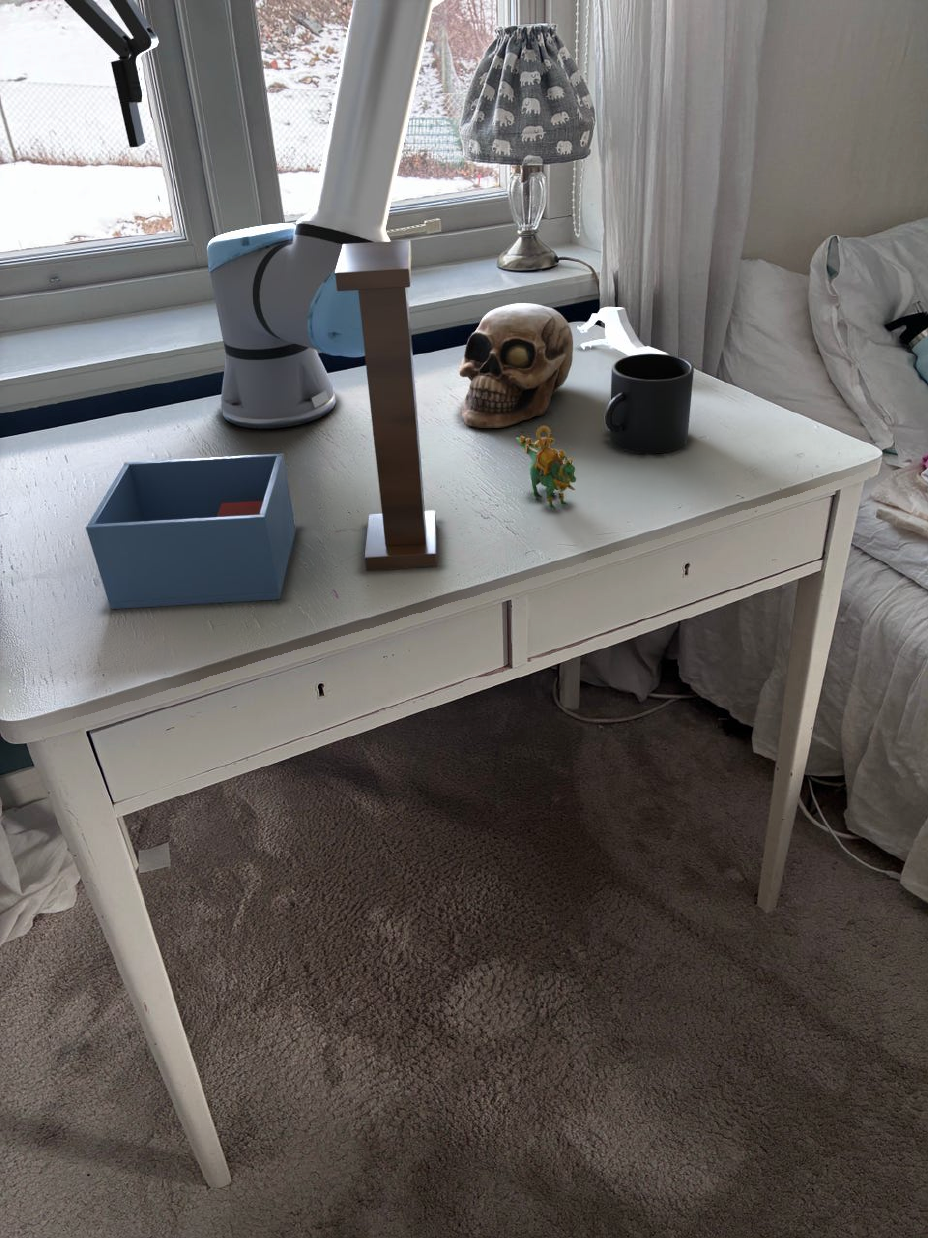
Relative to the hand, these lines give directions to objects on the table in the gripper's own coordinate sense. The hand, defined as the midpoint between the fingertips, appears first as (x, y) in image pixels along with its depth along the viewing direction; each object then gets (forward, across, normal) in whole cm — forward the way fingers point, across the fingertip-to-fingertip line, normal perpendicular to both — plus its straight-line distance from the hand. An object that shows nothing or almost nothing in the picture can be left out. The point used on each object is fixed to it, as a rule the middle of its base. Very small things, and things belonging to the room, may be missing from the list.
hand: (61, 149), depth 85 cm
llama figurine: (+37, +58, +40) cm, 80 cm away
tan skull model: (+37, +42, +27) cm, 62 cm away
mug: (+37, +56, +12) cm, 68 cm away
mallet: (+36, +8, -12) cm, 39 cm away
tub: (+37, +8, -12) cm, 39 cm away
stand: (+37, +28, -10) cm, 47 cm away
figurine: (+37, +43, -1) cm, 57 cm away
